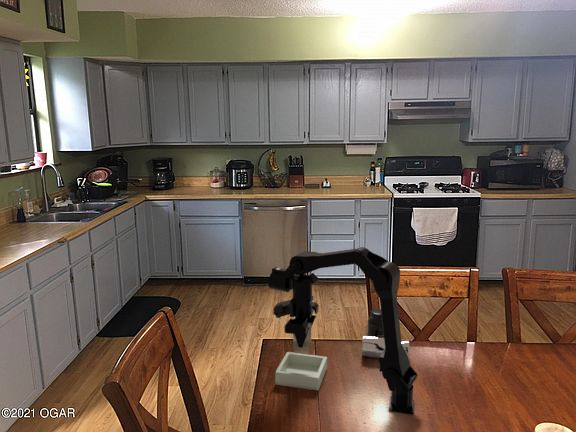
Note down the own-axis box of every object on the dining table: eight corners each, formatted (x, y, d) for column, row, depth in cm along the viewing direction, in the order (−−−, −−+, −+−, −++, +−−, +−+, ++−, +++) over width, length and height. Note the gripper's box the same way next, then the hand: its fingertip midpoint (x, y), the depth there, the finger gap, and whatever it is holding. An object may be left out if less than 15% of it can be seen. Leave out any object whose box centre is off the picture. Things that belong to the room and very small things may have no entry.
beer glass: (408, 336, 160) (363, 331, 163) (409, 343, 153) (362, 339, 156) (407, 356, 161) (362, 351, 164) (408, 364, 154) (361, 359, 157)
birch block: (307, 354, 143) (307, 329, 141) (293, 352, 144) (293, 327, 142) (311, 347, 147) (311, 322, 145) (296, 345, 148) (296, 321, 147)
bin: (318, 390, 139) (318, 378, 139) (275, 384, 143) (275, 372, 142) (326, 368, 152) (327, 356, 151) (287, 363, 155) (287, 351, 154)
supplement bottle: (381, 350, 164) (382, 317, 161) (363, 344, 168) (364, 312, 165) (389, 342, 169) (391, 310, 167) (372, 337, 173) (373, 306, 171)
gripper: (284, 282, 153) (285, 328, 156) (266, 303, 135) (267, 354, 138) (319, 285, 150) (318, 331, 153) (305, 307, 132) (305, 359, 135)
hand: (302, 343), depth 145 cm, fingers closed on birch block, 4 cm apart
